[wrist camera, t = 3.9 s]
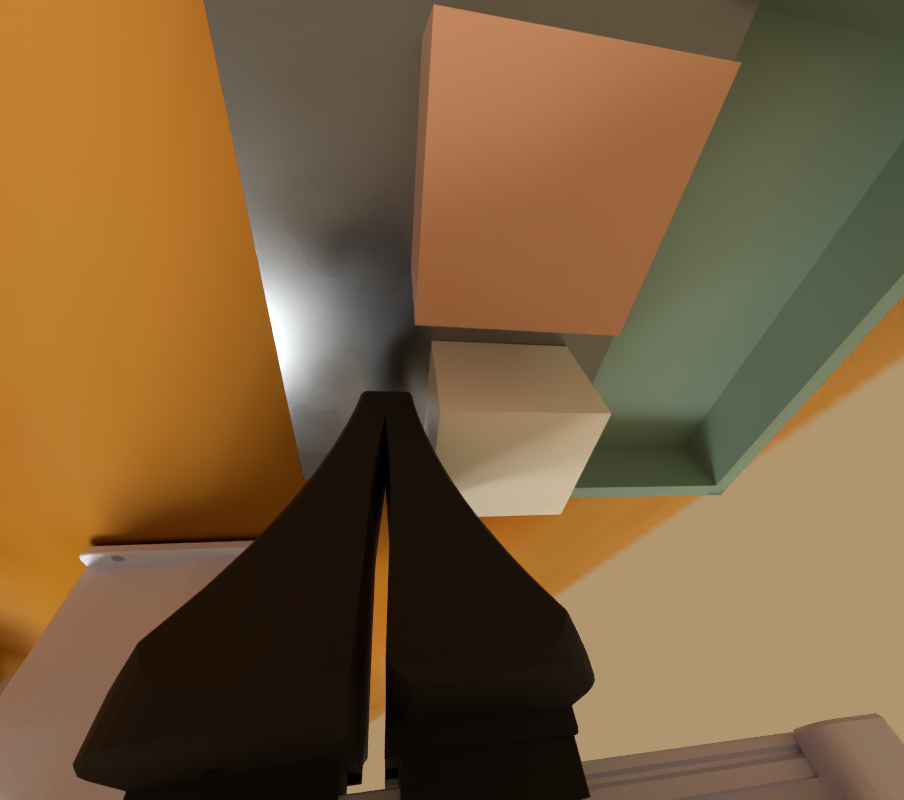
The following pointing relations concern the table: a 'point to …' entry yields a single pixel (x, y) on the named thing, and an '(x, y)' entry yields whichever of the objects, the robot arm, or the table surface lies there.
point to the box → (764, 254)
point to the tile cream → (511, 424)
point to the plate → (375, 178)
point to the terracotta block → (548, 170)
